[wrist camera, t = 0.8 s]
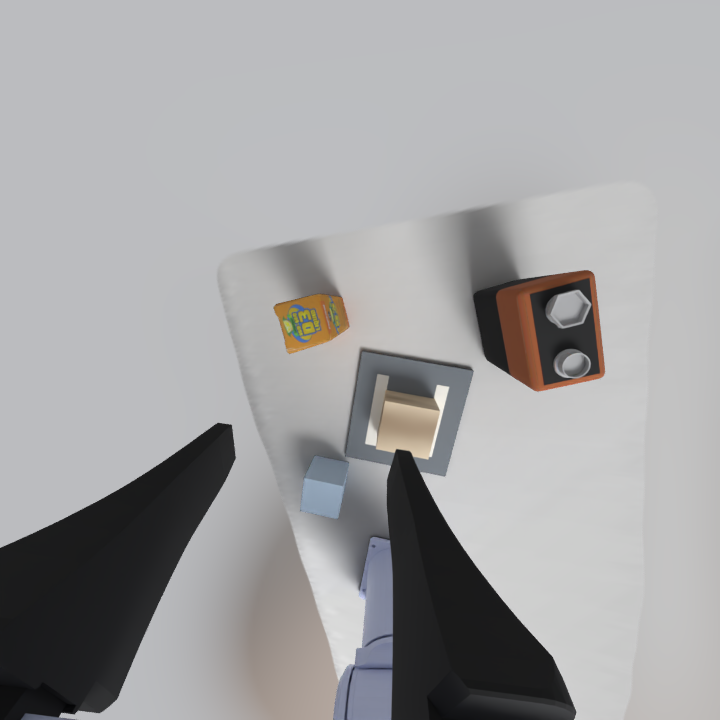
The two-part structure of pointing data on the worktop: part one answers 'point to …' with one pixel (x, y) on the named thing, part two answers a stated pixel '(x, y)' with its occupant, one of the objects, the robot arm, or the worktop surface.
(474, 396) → the worktop surface
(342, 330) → the supplement box
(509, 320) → the battery
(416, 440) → the oak block
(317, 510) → the blue cube
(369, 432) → the letter mat
